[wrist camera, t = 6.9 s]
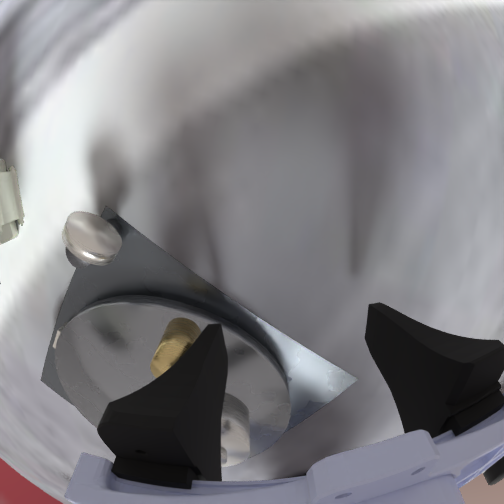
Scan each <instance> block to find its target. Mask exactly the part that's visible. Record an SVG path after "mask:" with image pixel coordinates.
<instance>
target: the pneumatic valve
mask: <svg viewBox="0 0 504 504" xmlns="http://www.w3.org/2000/svg"><path fill="white" fill-rule="evenodd" d="M23 217H24V211H23V207H22V202H21V197H20V191H19V185H18V179H17V172H16V170H15V169H14V166H11V167H10V168H9V171H7V172H6V165H5V161H4V160H3V159H0V245H1V244H3V243H5V242H7V241H10V240H12V239H14V238H16V237H17V236H18V230H17V226H16V222H15V220H18V223H19V225H20V224H21V226H23V223H24V221H23ZM0 284H1V283H0Z"/></svg>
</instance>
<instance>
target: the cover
mask: <svg viewBox="0 0 504 504" xmlns="http://www.w3.org/2000/svg"><path fill="white" fill-rule="evenodd" d="M249 455H250V423H249V410H248V408H247V407H246V405H245V404H244V403H243V402H241V401H240V400H238V399H237V398H235V397H233V396H231V395H228V394H225V396H224V403H223V409H222V418H221V467H226V466H232V465H236V464H239V463H241V462H243V461H245V460H246V459H247V458H248V457H249Z"/></svg>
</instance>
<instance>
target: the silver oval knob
mask: <svg viewBox="0 0 504 504" xmlns="http://www.w3.org/2000/svg"><path fill="white" fill-rule="evenodd" d="M122 237H123V230H122V227H121V225H120V224H119V223H118V222H117V221H116V220H114V219H108V220H104V219H103V218H101V217H99V216H97V215H95V214H92V213H89V212H84V211H77V212H73V213H71V214H70V215H69V216H68V218H67V221H66V223H65V226H64V228H63V230H62V239H63V242H64V244H65V246H66V255H67V258H68V260H69V261H70V263H71V264H72V265H73V266H74V267H76V268H79V269H83V268H86V267H87V266H88V265H90V264H94V265H107V264H110V263H111V262H113V261H114V259H115V257H116V255H117V253H118V252H119V250H120V248H121V246H122Z"/></svg>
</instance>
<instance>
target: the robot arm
mask: <svg viewBox="0 0 504 504" xmlns="http://www.w3.org/2000/svg"><path fill="white" fill-rule="evenodd" d="M365 340H366V343H367V346H368V348H369V351H370V353H371V355H372V357H373V359H374V361H375V363H376V365H377V366H378V368H379V370H380V372H381V374H382V375H383V377H384V379H385V381H386V383H387V384H388V386H389V388H390V390H391V392H392V395H393V398H394V400H395V403H396V406H397V409H398V412H399V415H400V418H401V421H402V425H403V428H404V432H405V434H403V435H400V436H397V437H394V438H391V439H388V440H385V441H382V442H378V443H375V444H371V445H368V446H364V447H361V448H357V449H353V450H349V451H344V452H341V453H337V454H334V455H331V456H328V457H325V458H324V459H322V460H320V461H318V462H316V463H314V464H313V465H312V466H311V468H310V469H309V470H308V472H307V474H306V476H300V477H292V478H284V479H274V480H261V481H222V476H221V418H222V409H223V403H224V396H225V390H226V383H227V376H228V355H227V350H226V345H225V340H224V335H223V330H222V325H221V323H218V324H208V325H207V326H206V327H205V329H204V330H203V331H202V333H201V334H200V335H199V337H198V338H197V339H196V340H195V342H194V343H193V344H192V345H191V347H190V348H189V349H188V350H187V351H186V352H185V353H184V355H183V356H182V357H181V358H180V359H179V360H178V361H177V362H176V363H175V364H174V365H173V366H172V367H170V368H169V369H168V370H167V371H166V372H164V373H163V374H162V375H160V376H159V377H158V378H156V379H155V380H153V381H152V382H150V383H149V384H147V385H146V386H144V387H142V388H141V389H139V390H137V391H135V392H133V393H131V394H129V395H127V396H124V397H122V398H120V399H117V400H115V401H112V402H109V404H108V405H107V407H106V409H105V411H104V413H103V416H102V418H101V420H100V422H99V425H98V427H97V431H98V434H99V436H100V437H101V439H102V440H103V442H104V443H105V444H106V445H107V446H108V447H109V449H110V450H111V451H112V452H113V453H114V454H115V455H116V458H115V461H114V464H113V463H112V462H111V461H109V460H107V459H105V458H102V457H99V456H95V455H91V454H88V453H84V452H83V453H81V456H80V458H79V460H78V463H77V465H76V468H75V470H74V473H73V475H72V477H71V480H70V483H69V485H68V488H67V490H66V493H65V498H66V499H67V500H69V501H70V502H72V503H73V504H465V502H464V500H463V498H462V495H461V493H460V491H459V488H460V487H462V486H463V485H465V484H467V483H468V482H469V481H471V480H472V479H474V478H475V477H477V476H478V475H479V474H481V473H482V472H484V471H485V470H486V469H488V468H489V467H490V466H492V465H493V464H494V463H496V462H497V461H498V460H499V459H501V458H502V457H503V456H504V393H503V394H502V393H501V392H500V391H499V389H500V388H501V384H500V383H499V382H498V380H499V378H500V376H501V374H502V373H503V371H504V345H503V344H502V343H501V342H500V341H499V340H482V339H473V338H466V337H461V336H457V335H453V334H449V333H446V332H442V331H440V330H437V329H434V328H431V327H429V326H426V325H424V324H422V323H420V322H418V321H416V320H413V319H411V318H410V317H408V316H406V315H404V314H402V313H400V312H398V311H396V310H394V309H392V308H391V307H389V306H387V305H385V304H382V303H374V304H369V307H368V317H367V325H366V333H365Z"/></svg>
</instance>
